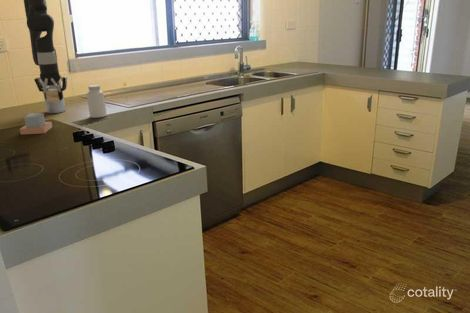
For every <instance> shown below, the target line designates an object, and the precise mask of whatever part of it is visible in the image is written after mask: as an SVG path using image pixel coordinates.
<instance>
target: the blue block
mask: <svg viewBox="0 0 470 313" xmlns="http://www.w3.org/2000/svg"><path fill="white" fill-rule="evenodd" d="M23 119H24V123H25V125H26V127H41V126H42V125H43V124H45V122H46V118H45V115H44V113H41V112H40V113H29V114H27V115H26V116H24V118H23Z"/></svg>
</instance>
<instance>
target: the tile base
mask: <svg viewBox="0 0 470 313" xmlns="http://www.w3.org/2000/svg"><path fill="white" fill-rule="evenodd" d="M52 128H53V123H52V121H45V124H43V125H42V126H41V127H26V124H25V125H23V126H22V127H20V128H19V132H20V135H34V134H36V135H38V134H41V135H42V134H46V133H47V132H48V131H49V130H50V129H52Z"/></svg>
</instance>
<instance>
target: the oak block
mask: <svg viewBox="0 0 470 313" xmlns="http://www.w3.org/2000/svg"><path fill="white" fill-rule="evenodd" d="M46 97H47V103H54V102H60V101H61V100H60V99H59V94H58V90H57V89H49V90H47V91H46Z"/></svg>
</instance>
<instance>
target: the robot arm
mask: <svg viewBox="0 0 470 313" xmlns="http://www.w3.org/2000/svg"><path fill="white" fill-rule="evenodd" d="M23 4H24V6H23V7H24V12H25V17H26V26H27V28H28V31H29V38H30V46H31V54H32V59H33V62H34V64H35V65H36V66H38V67H39V73H40V74H39V77H35V78H34V82H35V84H36V87H37V89H38V91H39V92H42V94H43V100H44V103H45V104H44V105H45V110H46V113H47V114H59V113H63V112H66V111H67V109H66V105H65V98H64V93H63V92H64V91H66V90H67V85H68V84H67V83H68V77H67V76H61V75H60V70H59V65H58V56H57V52H56V51H57V50H56V48H55V46H54V38H53V36H54V27H55V21H54V18H53V16H52V15H50V14H48V5H47V0H23ZM43 32H44V33H45V32H46V33H45V35H44V36H41V35H42V33H43ZM49 89H57V90H58V94H59V99H60V100H61V101H60V102H54V103H47V97H46V91H47V90H49Z"/></svg>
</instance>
